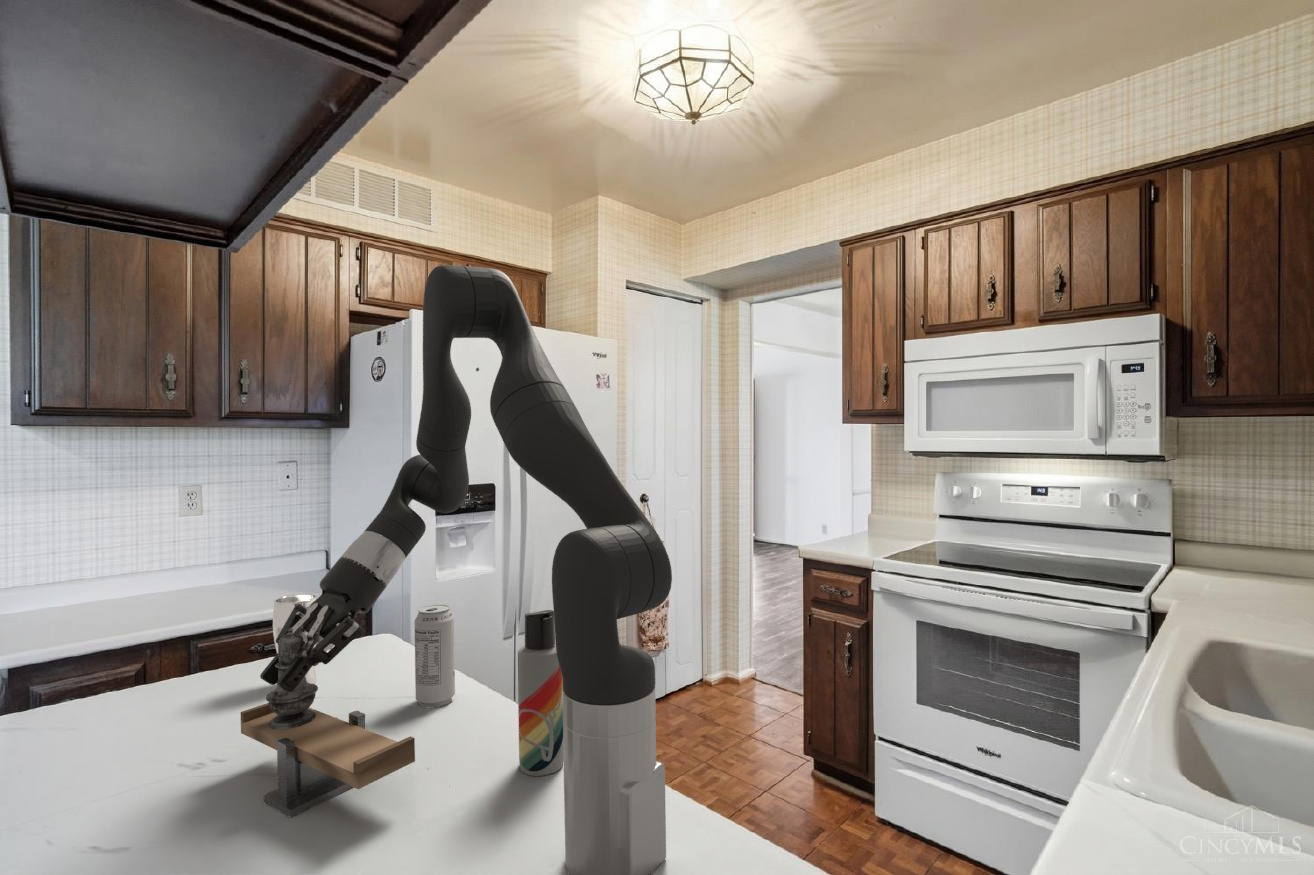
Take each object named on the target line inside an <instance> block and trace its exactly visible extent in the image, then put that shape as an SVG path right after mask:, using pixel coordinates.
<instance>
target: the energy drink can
mask: <svg viewBox="0 0 1314 875" xmlns="http://www.w3.org/2000/svg"><path fill="white" fill-rule="evenodd" d="M455 660H456V659H455V617H454V615H453V613H452V611H451V607H450V606H449V605H446V604H431V605H426V606H425V605H424V606H423V607H421V608H418V613H417V615H416V617H415V619H414V666H415V668H414V670H415V671H414V674H415V676H414V679H415V682H414V683H415V687H414V689H415V700H416V702H419V706H420V707H422V708H426V707H434V708H439V707H440V708H441V707H443V706H446V705H448V704H449V703H450V702H452V698H453V697H454V695H455V694H456V681H455V680H456V676H455V673H456V672H455V666H456V664H455V662H456V661H455Z"/></svg>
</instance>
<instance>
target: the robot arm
mask: <svg viewBox="0 0 1314 875" xmlns="http://www.w3.org/2000/svg"><path fill="white" fill-rule="evenodd" d="M519 295H520V294H519V293H518V291H517V289H516V286H515V285H514V283H513V282H512V280H511V278H509V276H508V275H507V274H506V273H505V272H503V271H502V270H499V269H496V268H492V267H483V266H482V267H481V266H469V265H467V266H466V265H456V264H455V265H454V264H453V265H451V264H443V265H437V266H435V267H434V268H433V269H432V270H431V271H430V273H429V274H428V276H427V279H426V283H425V287H424V293H423V304H422V305H423V306H422V377H423V378H422V400H421V409H420V417H419V422H418V428H417V434H416V435H417V436H416V440H415V442H416V444H415V445H416V450H417V452H418V453H419V454H417V455H414V456H412V457H411V458H409V459H407V460H406V461H405V462H404V463H403V465H402V466H401V468H400V470H399V472H398V474H397V478H396V480H395V483H394V485H393V487H392V489H391V490H390V494H389V496H388V497H387V499H386V502H385V503H384V505H383V507H382V508H381V509H380V511H379V513H378V514H377V515H376V516H375V518H374V519H373V520H371V522H370V524H369V525H368V526H367V527H366V528H365V530H364V531H363V532H362V533H361V534H360V535H359V536H358V537H357V538H356V539H355V540H354V541H353V542H352V543H351V544H350V545H349V546H348V547H347V548H346V549H345V550H344V552H343V553H342V555H341V556H340V557H339V558H338V559H337V561H336V562H335V563H334V564H333V566H332V567H331V568H330V569H329V571H328V572H327V573H326V574H325V575H324V576H323V578H322V579H321V580H320V582H319V587H320V589H321V590H322V592H321V595H319V597H317V599H316V600H315V601H314V602H313V603H312V604H311V605H310V606H308V607H304V606H302V605H301V604H298V605H296V606H295V607H294V609H293V611H292V612H291V614H290V616H289V618H288V619H287V621H286V623H285V625H284V626H283V628H282V630H281V632H280V633H279V635H278V637H277V639H276V643H278V642H279V639H280V638H281V637H283V636H284V635H286V634H287V633H289V632H288V631H287V630H289V628H290V627H291V628H292V629H294V630H293V631H292V632H293V633H296V634H299V635H301V636H302V637H303V644H304V647H303V649H302V651H301V652H300V654H299V656H300V658H299V657H296V658H295V659H294V661H293V662H292V663H291V664H290V666H289V667H288V668H287V669H286V671H285V672H284V673H283V674H282V676H281V677H280V678H279V680H278V668H276V667H275V664H276V663H278V662H279V659H278V653H277V652H276V655H275V656H274V657H273V659H271V661H270V662H269V663H268V665H267V666H266V667H265V668H264V670H263V671H262V672H261V673H260V675H259V676H260V679H261V680H262V681H264V682H265V683H267V684H269V685H270V686H271V685H272V686H274V685H276V686H277V685H278V686H279V687H281V688H282V689H284V690H285V691H288V692H292V691H293V690H294V689H295V688H296V686H297V685H298V684H299V683H300V681H301V680H302V679H303V677H304V676H305V675H306V674H307V672H308V671H309V670H310V668H311V667H312V666H314V667H316V666H318V665H319V664H320V663H322V664H324V665H328V664H329V663H330V662H331V661H333V660H334V658H336V657H337V655H339V654H340V653H341V652H342V651H343V650H344V649H345V648H346V647H347V646H348V645H349V644H350V643H352V641H353V640H355V639H356V638H357V637H358V636H359V634H361V632H362V631H363V627H362V625H361V626H360V625H359V623H358V622H356V621H355V620H356V618H357V615H358V614H360V615H361V614H367V613H368V612H369V611H370V610H371V609H372V607H373V606H374V604H375V603H376V602H377V600H378V599H379V597H380V596H381V595H382V594H383V592H384V591H385V589H387V587H388V585H389V584H390V583H391V582H392V581H393V579H394V577H395V576H396V575H397V574H398V572H399V570H400V569H401V567H402V564H403V563H404V561H405V560H406V558H407V557H408V556H409V555H410V553H411V552H412V551H413V549H414V548H415V547H416V545H417V544H418V543H419V541H420V540H421V538H422V537H423V536H424V534H425V532H426V529H427V528H426V526H427V525H426V523H425V521H424V520H423V518H422V516H420V515H419V514H418V513H417V512H416V511H415V510H414V509H412V508H411V507H410V506H409V505H410V503H411V501H415V502H417V503H419V504H421V505H423V506H426V508H427V507H428V508H429V509H431V510H433V511H435V512H437V513H441V514H449V513H453V512H455V511H457V510H458V509H459V508H460V507H461V506H463V503H465V500H466V499H467V496H468V494H469V486H470V477H469V468H468V462H467V461H468V460H467V453H466V445H467V440H468V433H469V429H470V426H471V421H472V420H471V419H472V407H471V406H472V405H471V401H470V398H469V395H468V393H467V391H466V389H465V387H464V385H463V384H462V382H461V380H460V378H459V376H458V374H457V371H456V369H455V367H454V365H453V362H452V358H451V350H452V343H453V340H454V339H466V338H467V339H471V338H472V339H489V340H491V341H493V342H494V343H495V344H496V346H497V348H498V349H499V352H500V355H501V362H500V366H499V367H498V368H499V369H498V372H497V374H496V377H495V380H494V383H493V385H492V389H491V393H490V399H489V408H490V410H489V411H490V415H491V418H492V420H493V423H494V424H495V426H496V429H497V431H498V433H499V435H500V437H501V439H502V441H503V444H504V446H505V448H506V449H507V451H508V453H509V455H510V456H511V458H512V460H513V461H514V462H515V463H516V464H517V465H518V466H519V467H520V468H521V469H522V470H523V471H524V472H525V473H527V474H528V475H529V476H530V477H531V478H532V479H534V480H535V481H537V482H538V483H539V484H540V485H542V486H543V487H544V488H546V489H547V490H549V491H550V492H552V493H553V494H554V495H555V496H556V497H558V498H559V499H560V500H562V501H563V502H564V503H565V504H567V505H568V507H570V508H571V509H572V510H573V512H574V513H575V514H576V515H577V517H578V518H579V519H580V520H581V522H582V523H583V524H584V527H585V528H583V529H577V530H574V531H570V532H569V533H567V534H565V535H564V536H563V537H562V538H561V540H560V541H559V542H558V544H557V546H556V549H555V551H554V555H553V560H552V564H551V565H552V566H551V589H552V590H551V593H552V605H553V611H554V622H555V643H556V652H557V657H558V662H559V665H560V669H561V673H562V678H563V744H564V762H563V797H564V798H563V799H564V800H563V802H564V805H563V806H564V807H563V810H564V812H563V813H564V846H565V847H564V849H565V851H564V852H565V855H564V856H565V858H564V859H565V868H566V871H567V873H568V875H650V874H652V873H653V872H654V871H655V870H656V868H658V867H659V866H660V865H661V864H662V863H663V862H664V860H666V859H667V829H666V828H667V827H666V826H667V824H666V823H667V822H666V819H667V818H666V817H667V816H666V815H667V814H666V766H665V764H664V763H663V762H661V761H658V760H657V731H656V730H657V728H656V727H657V725H656V724H657V722H656V721H657V719H656V715H657V712H656V711H657V710H656V705H657V704H656V665H655V661H654V659H653V657H652V655H650V653H648V652H646V651H644V650H643V649H641V648H638V647H634V646H630V645H626V644H621V643H620V639H619V630H618V620H620V619H625V618H627V617H631V616H634V615H635V616H636V615H639V614H642V613H645V612H647V611H651V610H653V609H656V608H657V607H659V606H661V605H662V604H663V603H664V602H665V601H666V600H667V598H668V597H669V594H670V591H671V589H672V582H673V577H672V576H673V573H672V565H671V562H670V557H669V554H668V552H667V550H666V548H665V545H664V543H663V541H662V539H661V537H660V535H659V534H658V532H657V531H656V528H654V526H653V525H652V524H651V522H650V521H649V520H648V518H647V516H646V515H645V514H644V513H643V511H642V510H641V509H640V507H639V505H638V504H637V503H636V501H635V500H634V499H633V497H632V496H631V495H630V493H629V492H628V490H627V489H626V488H625V486H624V485H623V484H622V482H621V481H620V479H619V477H617V475H616V474H615V472H614V471H613V468H612V467H611V466H610V464H609V462H608V461H607V459H606V458H605V456H604V454H603V453H602V451H601V450H600V448H599V446H598V445H597V443H596V441H595V439H594V438H593V435H592V434H591V432H590V431H589V429H588V428H587V425H586V424H585V422H584V420H583V417H582V416H581V414H580V412H579V410H578V408H577V407H576V405H575V402H574V401H573V399H572V398H571V396H570V394H569V392H568V391H567V389H566V387H565V386H564V384H563V383H562V381H561V380H560V378H559V376H558V375H557V373H556V371H555V369H554V368H553V366H552V364H551V362H550V360H549V359H548V357H547V355H546V353H545V351H544V349H543V347H542V345H541V343H540V341H539V340H538V338H537V336H536V332H535V331H534V329H533V326H532V324H531V321H530V318H529V316H528V314H527V311H526V310H525V307H524V305H523V302H522V299H521V297H520V296H519ZM304 631H306V632H308V634H307V635H306V634H305V633H304ZM314 645H316V646H315V647H314ZM313 647H314V648H313ZM327 651H328V652H327Z"/></svg>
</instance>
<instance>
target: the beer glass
mask: <svg viewBox="0 0 1314 875" xmlns="http://www.w3.org/2000/svg"><path fill="white" fill-rule="evenodd" d="M316 599H318V596H317V595H316V594H312V593H298V594H291V595H286V596H282V597H278V598H276V599H274V600H273V612H272V633H273V634H272V635H273V641H274V647H275V650H276V654H277V653H278V643H276V639H277V637H278V635H279V633H280V632H281V630H282V628H283V626H284V625H285V623H286V621H287V619H288V618H289V616H290V614H291V612H292V611H293V609H294V607H295V606H296V605H298V604H301V605H302V606H304V607H308V606H310V605H311V604H312V603H313V602H314V601H315V600H316ZM304 633H305V634H306V635H307V634H308V632H306V631H304ZM315 646H316V645H314V647H315ZM314 647H313V648H314ZM305 677H306V680H307V683H311V684H315V685H316V682H317V680H318V679H317V674H316V669H315V666H312V667H311V668H310V670H309V671H308V672H307V674H306V675H305Z"/></svg>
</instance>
